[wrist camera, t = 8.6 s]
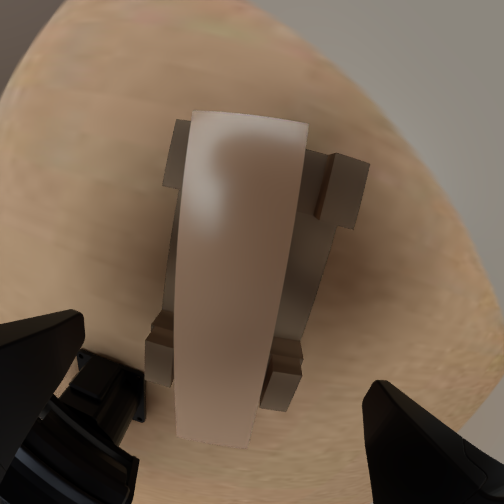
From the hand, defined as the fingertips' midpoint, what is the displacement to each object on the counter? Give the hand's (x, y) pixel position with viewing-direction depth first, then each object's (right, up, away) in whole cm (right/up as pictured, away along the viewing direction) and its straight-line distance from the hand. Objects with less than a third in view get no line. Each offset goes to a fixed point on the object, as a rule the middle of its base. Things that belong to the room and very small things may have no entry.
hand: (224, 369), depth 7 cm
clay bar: (0, +2, +7) cm, 7 cm away
